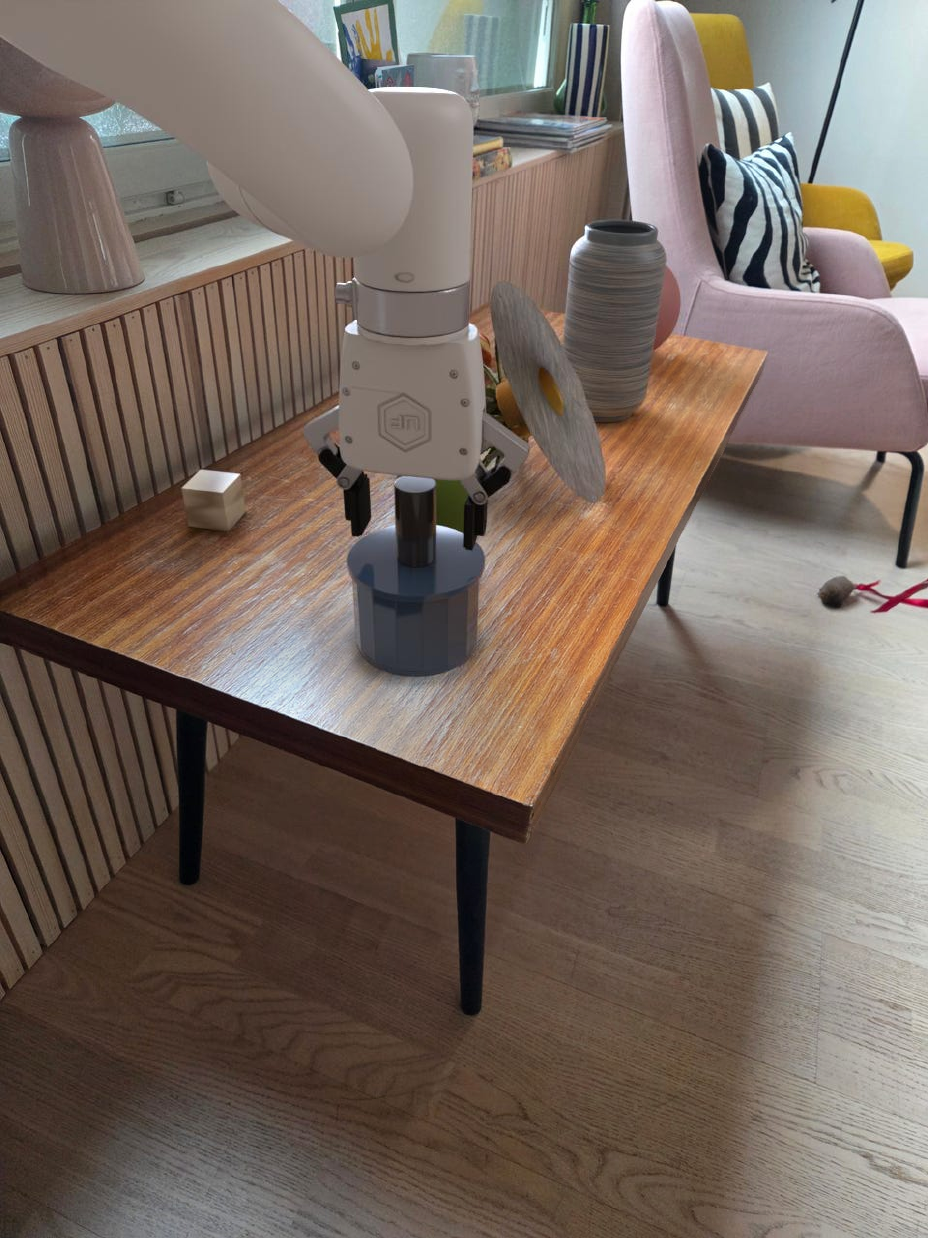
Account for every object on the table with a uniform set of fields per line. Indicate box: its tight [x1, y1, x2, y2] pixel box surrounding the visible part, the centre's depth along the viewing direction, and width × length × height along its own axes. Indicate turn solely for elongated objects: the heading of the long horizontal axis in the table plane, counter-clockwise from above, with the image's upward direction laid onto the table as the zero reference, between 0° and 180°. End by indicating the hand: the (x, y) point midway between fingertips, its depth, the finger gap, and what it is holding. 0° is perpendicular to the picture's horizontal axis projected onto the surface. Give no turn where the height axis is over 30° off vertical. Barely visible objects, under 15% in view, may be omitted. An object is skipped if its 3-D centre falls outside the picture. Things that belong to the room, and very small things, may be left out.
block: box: [180, 469, 246, 533], centre depth 88 cm, size 4×4×4 cm
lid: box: [346, 476, 486, 602], centre depth 67 cm, size 11×11×8 cm
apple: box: [394, 475, 468, 533], centre depth 80 cm, size 9×8×12 cm
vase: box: [561, 219, 667, 423], centre depth 109 cm, size 12×12×23 cm
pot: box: [351, 578, 481, 677], centre depth 71 cm, size 10×10×8 cm
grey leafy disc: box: [480, 280, 607, 503], centre depth 95 cm, size 25×18×25 cm
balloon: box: [653, 264, 682, 352], centre depth 127 cm, size 15×20×15 cm
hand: (416, 534), depth 67 cm, fingers open, 8 cm apart
